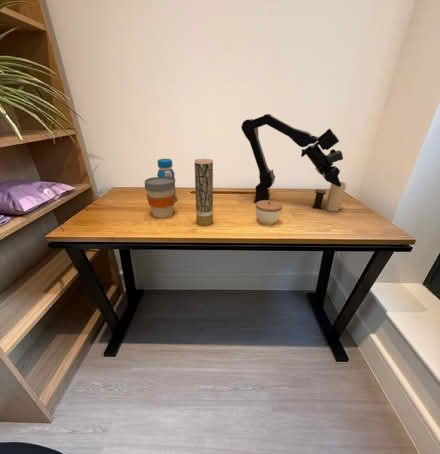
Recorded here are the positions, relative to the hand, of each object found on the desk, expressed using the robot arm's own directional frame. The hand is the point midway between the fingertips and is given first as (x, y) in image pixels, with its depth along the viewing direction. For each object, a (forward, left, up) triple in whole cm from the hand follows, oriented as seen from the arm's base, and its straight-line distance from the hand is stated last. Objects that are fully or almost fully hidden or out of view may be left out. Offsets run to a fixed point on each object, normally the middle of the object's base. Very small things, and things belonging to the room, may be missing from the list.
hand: (337, 183), depth 115 cm
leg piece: (-6, 0, -12) cm, 14 cm away
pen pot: (+1, 0, -12) cm, 12 cm away
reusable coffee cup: (-70, -37, -13) cm, 80 cm away
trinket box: (-25, -27, -13) cm, 39 cm away
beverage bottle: (-77, -21, -13) cm, 81 cm away
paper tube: (-49, -38, -13) cm, 64 cm away
